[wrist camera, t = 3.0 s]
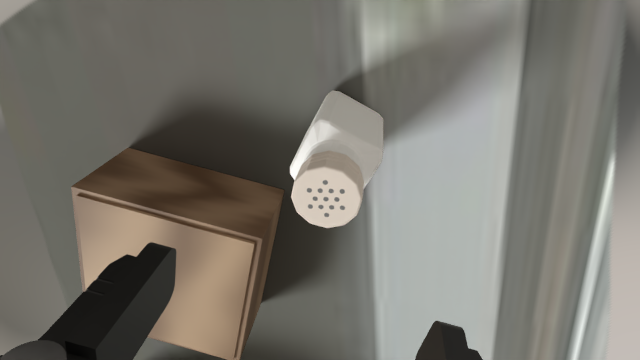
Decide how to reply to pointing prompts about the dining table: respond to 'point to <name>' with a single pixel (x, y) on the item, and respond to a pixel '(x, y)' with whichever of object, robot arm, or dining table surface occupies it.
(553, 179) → the dining table surface
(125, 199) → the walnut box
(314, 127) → the salt shaker
